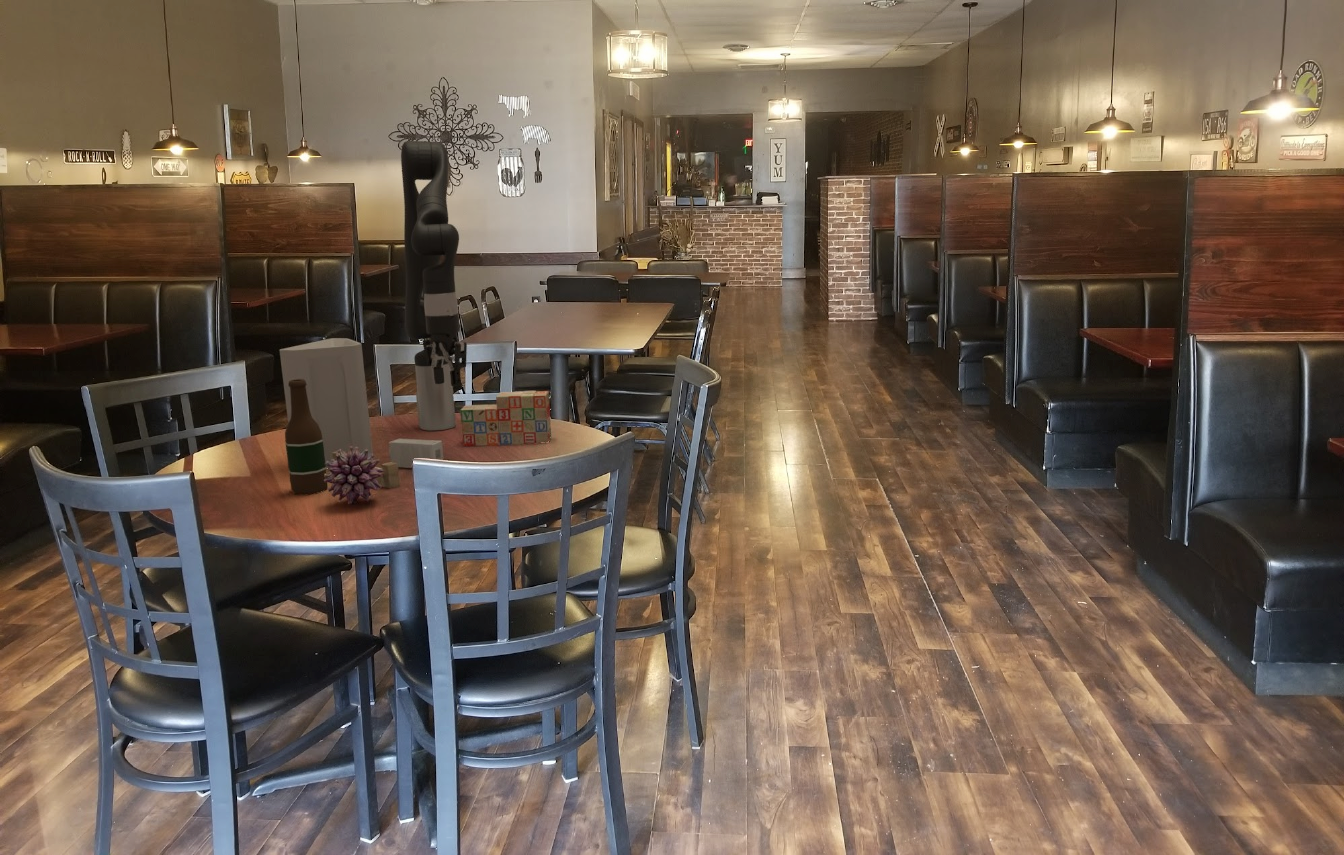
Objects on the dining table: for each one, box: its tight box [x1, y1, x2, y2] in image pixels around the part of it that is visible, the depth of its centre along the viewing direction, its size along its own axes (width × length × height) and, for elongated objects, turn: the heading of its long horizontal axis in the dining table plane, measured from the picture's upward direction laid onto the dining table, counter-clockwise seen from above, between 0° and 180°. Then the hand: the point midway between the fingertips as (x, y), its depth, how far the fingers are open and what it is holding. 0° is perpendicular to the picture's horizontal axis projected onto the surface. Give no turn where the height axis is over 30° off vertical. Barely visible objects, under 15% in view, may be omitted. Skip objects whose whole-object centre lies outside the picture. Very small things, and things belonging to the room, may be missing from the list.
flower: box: [324, 447, 384, 505], centre depth 223 cm, size 12×12×12 cm
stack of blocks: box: [459, 390, 552, 447], centre depth 272 cm, size 21×6×12 cm, turn 89°
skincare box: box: [388, 438, 444, 469], centre depth 252 cm, size 6×4×12 cm
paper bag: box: [279, 337, 374, 468], centre depth 258 cm, size 19×15×28 cm
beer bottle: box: [284, 379, 329, 495], centre depth 233 cm, size 8×8×24 cm
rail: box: [332, 451, 401, 489], centre depth 242 cm, size 22×2×5 cm, turn 48°
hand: (447, 384), depth 256 cm, fingers open, 5 cm apart
